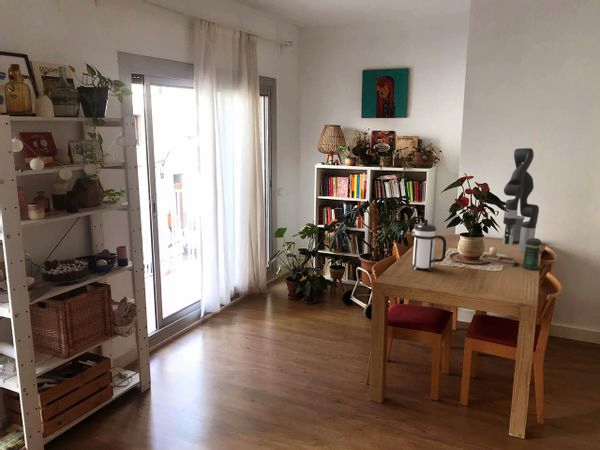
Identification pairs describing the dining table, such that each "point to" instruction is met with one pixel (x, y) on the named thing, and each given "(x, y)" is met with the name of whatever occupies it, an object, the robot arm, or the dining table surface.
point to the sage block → (509, 240)
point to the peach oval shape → (493, 251)
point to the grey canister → (517, 228)
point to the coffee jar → (531, 253)
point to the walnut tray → (498, 259)
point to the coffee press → (426, 246)
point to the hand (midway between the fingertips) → (507, 242)
